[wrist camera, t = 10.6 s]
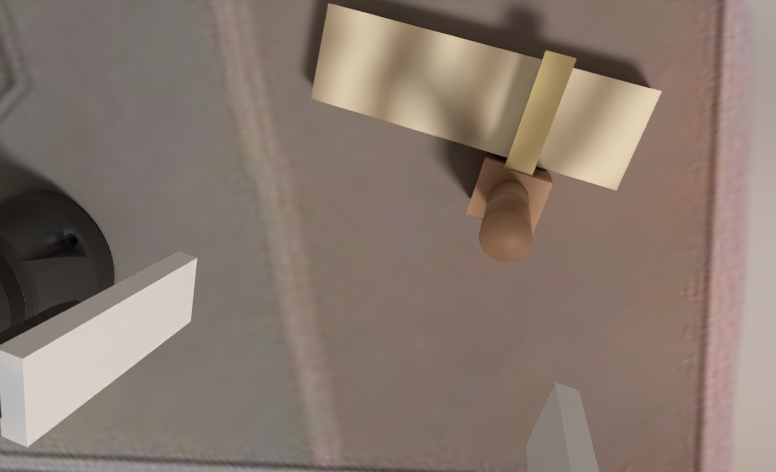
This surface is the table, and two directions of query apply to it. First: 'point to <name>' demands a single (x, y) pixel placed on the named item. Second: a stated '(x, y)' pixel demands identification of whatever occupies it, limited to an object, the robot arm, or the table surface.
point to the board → (476, 94)
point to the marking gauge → (520, 170)
